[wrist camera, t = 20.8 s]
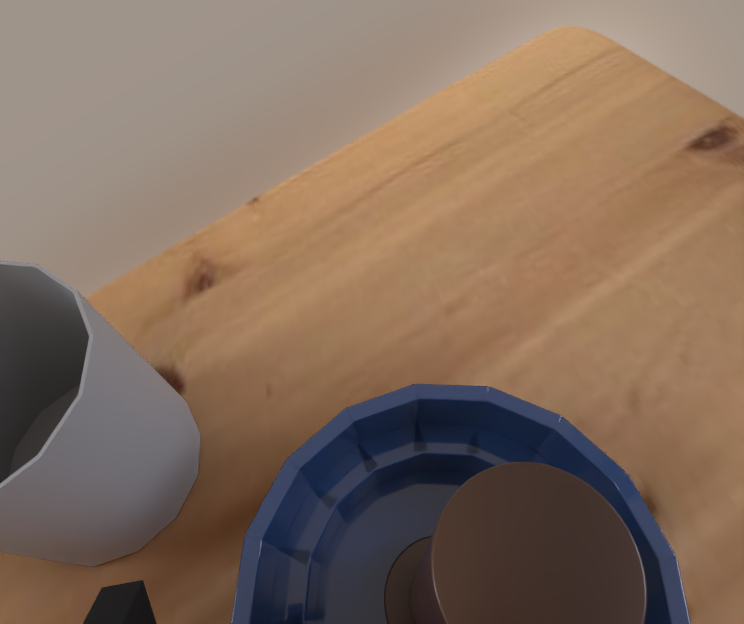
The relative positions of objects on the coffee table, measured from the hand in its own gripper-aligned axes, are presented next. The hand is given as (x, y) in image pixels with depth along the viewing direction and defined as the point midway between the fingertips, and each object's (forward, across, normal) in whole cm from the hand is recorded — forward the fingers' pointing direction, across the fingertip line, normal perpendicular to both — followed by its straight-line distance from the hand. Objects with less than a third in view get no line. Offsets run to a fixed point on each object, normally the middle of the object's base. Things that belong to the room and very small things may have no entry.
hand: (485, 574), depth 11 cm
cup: (+14, -14, -3) cm, 20 cm away
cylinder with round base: (+8, 0, -8) cm, 11 cm away
